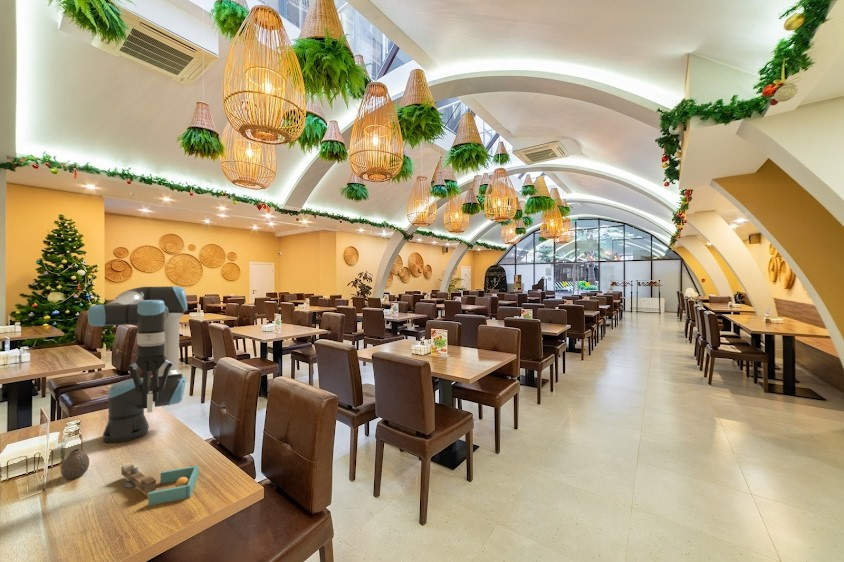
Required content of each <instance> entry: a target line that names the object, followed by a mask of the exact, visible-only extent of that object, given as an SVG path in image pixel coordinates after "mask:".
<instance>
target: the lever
mask: <svg viewBox="0 0 844 562" xmlns="http://www.w3.org/2000/svg"><path fill="white" fill-rule="evenodd" d="M120 469H121V475H122V476H123V477H124V478H125V479H126V480H127V481H131V483H133V484H134V485H136V487H137V488H138V489H139V490H141V491H142V492H143V493H144V494H146V495H147V494H149V492H153V491H157V480H156V479H155V478H154V477H152V476H151V475H149V476H146V475H145V474H143V473H142V472H140V471H139V470H138V469H139V468H138V467H135V465H134V464H133V463H131V462H128V463H126V464H123V465H121V468H120Z"/></svg>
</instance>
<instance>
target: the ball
mask: <svg viewBox="0 0 844 562" xmlns="http://www.w3.org/2000/svg"><path fill="white" fill-rule="evenodd" d="M188 482H189V479H188V478H186V477H181V478H179V479H178V480H177V481H175V483H174V487H179V486H184V485H187V484H188Z"/></svg>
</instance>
